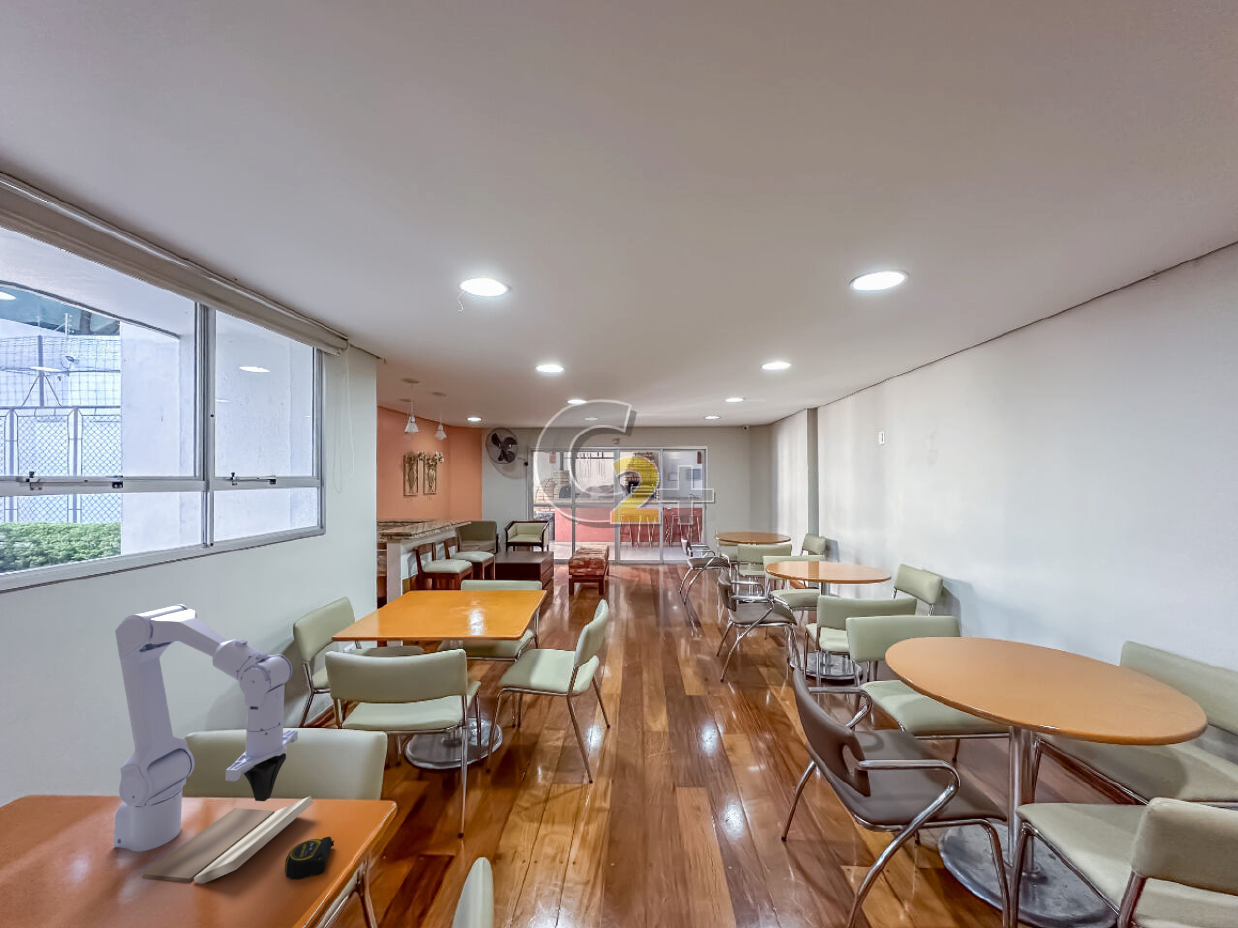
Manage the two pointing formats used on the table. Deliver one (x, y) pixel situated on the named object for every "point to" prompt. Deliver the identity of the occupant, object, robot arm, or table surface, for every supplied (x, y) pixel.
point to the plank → (253, 841)
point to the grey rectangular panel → (208, 845)
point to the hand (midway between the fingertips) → (262, 798)
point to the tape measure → (308, 858)
